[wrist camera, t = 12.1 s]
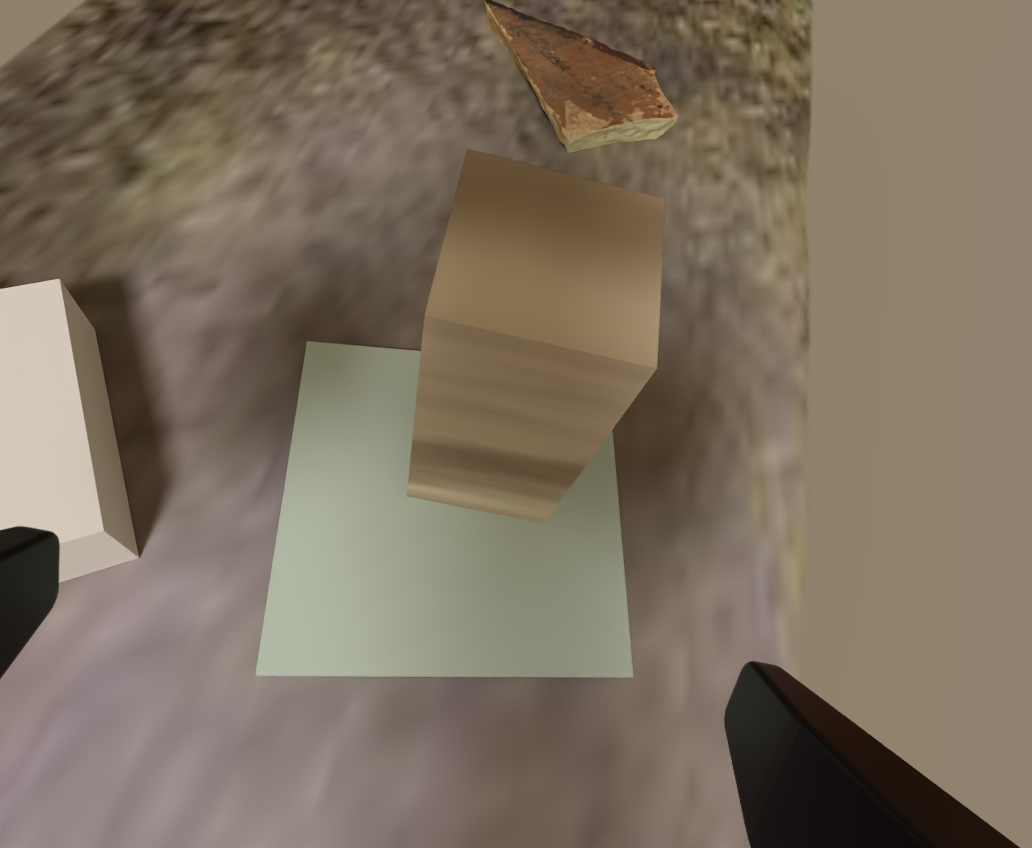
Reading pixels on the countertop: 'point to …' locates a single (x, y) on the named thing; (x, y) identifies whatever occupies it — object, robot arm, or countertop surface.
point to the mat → (429, 551)
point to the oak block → (532, 334)
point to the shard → (583, 82)
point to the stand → (59, 432)
